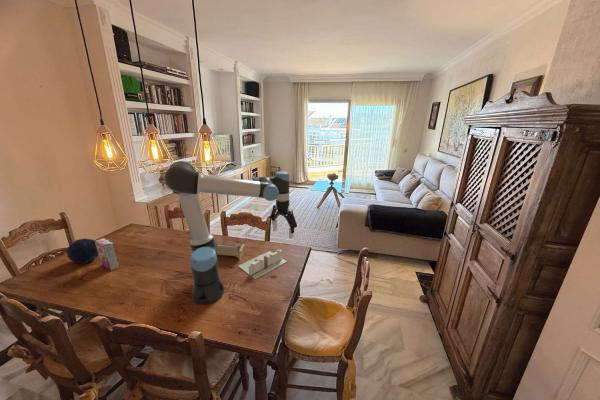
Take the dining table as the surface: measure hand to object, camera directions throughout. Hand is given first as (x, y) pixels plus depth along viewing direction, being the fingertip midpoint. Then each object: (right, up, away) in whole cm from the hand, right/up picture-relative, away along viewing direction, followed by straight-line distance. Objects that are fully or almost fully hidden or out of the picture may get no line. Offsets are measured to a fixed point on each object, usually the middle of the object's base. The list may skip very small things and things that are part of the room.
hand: (283, 233), depth 138 cm
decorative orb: (-120, -17, +6) cm, 122 cm away
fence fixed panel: (-14, -21, -1) cm, 25 cm away
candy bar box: (-102, -19, +1) cm, 104 cm away
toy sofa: (-37, -16, +14) cm, 43 cm away
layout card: (-13, -19, +6) cm, 24 cm away
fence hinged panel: (-6, -18, +7) cm, 20 cm away
